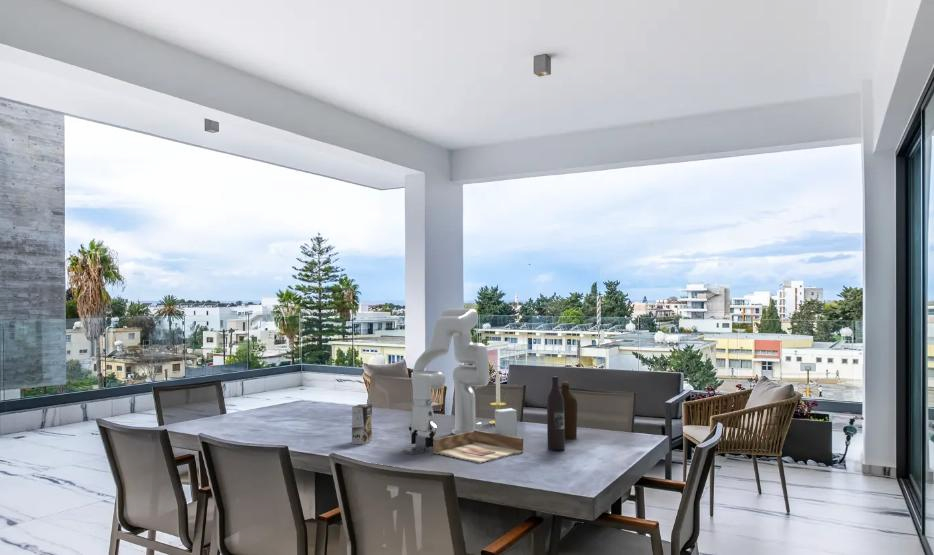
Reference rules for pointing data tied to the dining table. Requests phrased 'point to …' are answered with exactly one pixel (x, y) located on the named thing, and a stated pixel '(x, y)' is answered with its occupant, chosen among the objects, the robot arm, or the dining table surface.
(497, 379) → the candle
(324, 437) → the dining table surface
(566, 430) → the olive oil
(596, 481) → the dining table surface
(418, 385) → the robot arm
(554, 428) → the wine bottle
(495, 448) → the corner arena
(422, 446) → the gray t-shaped block
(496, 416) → the skincare box
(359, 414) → the coffee box
